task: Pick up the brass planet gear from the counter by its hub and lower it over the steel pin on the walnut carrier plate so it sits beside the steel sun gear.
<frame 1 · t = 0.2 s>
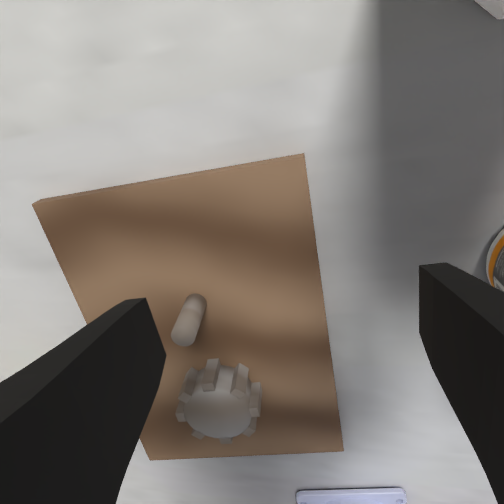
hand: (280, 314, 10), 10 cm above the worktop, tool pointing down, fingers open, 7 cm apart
carrier plate: (211, 335, 23), on the worktop
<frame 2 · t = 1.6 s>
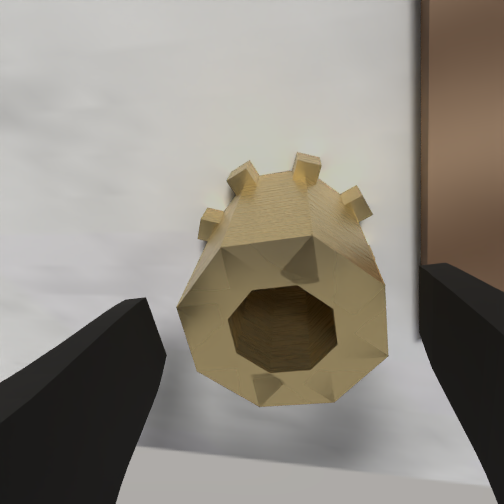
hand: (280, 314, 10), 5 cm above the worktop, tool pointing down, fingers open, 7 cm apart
planet gear: (286, 235, 15), on the worktop
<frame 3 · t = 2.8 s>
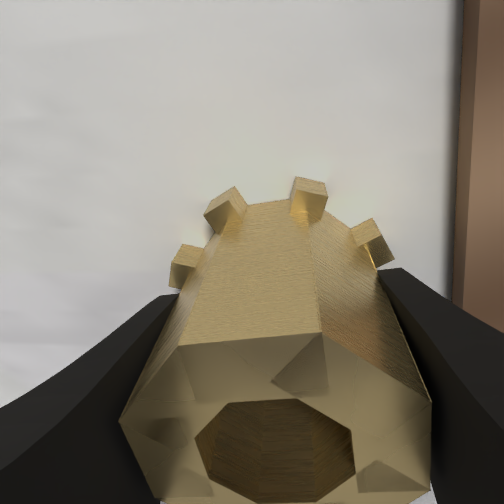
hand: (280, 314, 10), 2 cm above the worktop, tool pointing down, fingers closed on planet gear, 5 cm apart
planet gear: (281, 278, 12), on the worktop, touching gripper
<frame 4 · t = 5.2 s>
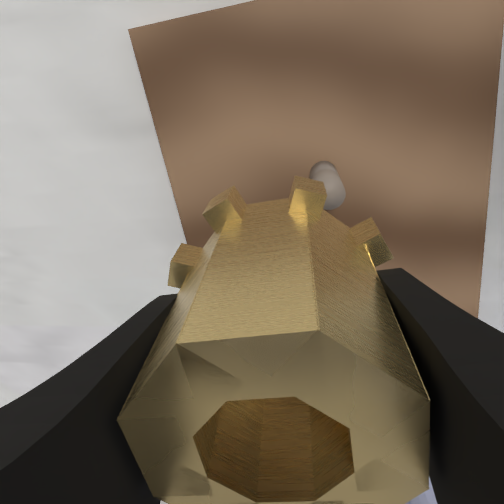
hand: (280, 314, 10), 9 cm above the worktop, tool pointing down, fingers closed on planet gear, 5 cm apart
carrier plate: (327, 228, 19), on the worktop
planet gear: (281, 277, 12), point 8 cm above the worktop, touching gripper
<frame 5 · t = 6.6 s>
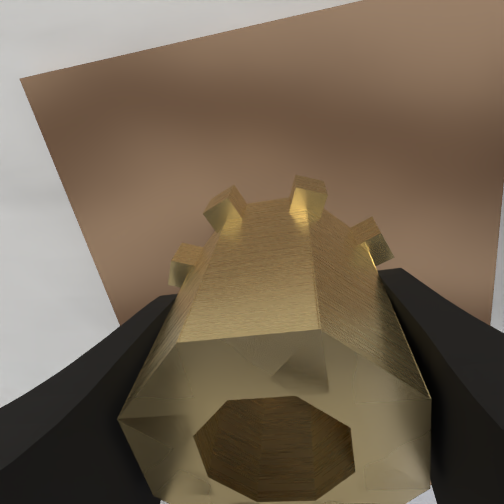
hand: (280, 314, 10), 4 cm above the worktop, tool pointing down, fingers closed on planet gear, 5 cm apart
carrier plate: (294, 311, 15), on the worktop
planet gear: (281, 276, 12), point 3 cm above the worktop, touching gripper
when the fingers open (4 cm above the worktop, at t = 7.7 s): planet gear stays where it is, resting on carrier plate.
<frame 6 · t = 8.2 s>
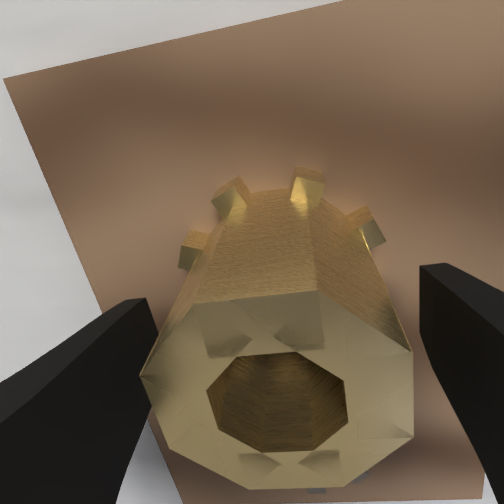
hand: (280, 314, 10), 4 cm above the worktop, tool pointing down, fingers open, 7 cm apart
carrier plate: (294, 321, 15), on the worktop
planet gear: (282, 261, 13), point 1 cm above the worktop, touching carrier plate
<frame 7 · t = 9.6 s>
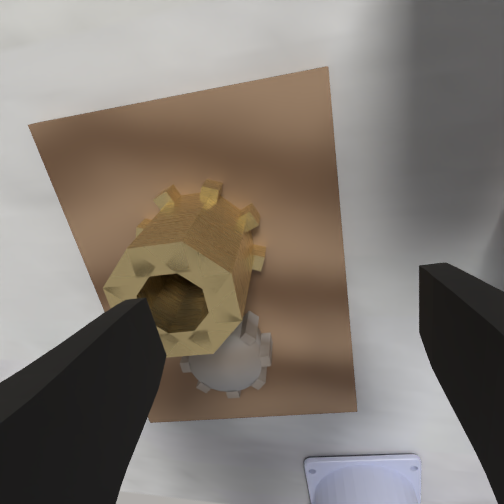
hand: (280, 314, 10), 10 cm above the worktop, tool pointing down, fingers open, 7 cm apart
carrier plate: (219, 282, 22), on the worktop
planet gear: (204, 239, 20), point 1 cm above the worktop, touching carrier plate
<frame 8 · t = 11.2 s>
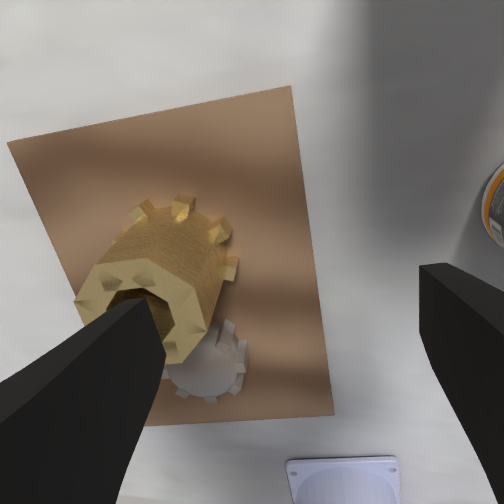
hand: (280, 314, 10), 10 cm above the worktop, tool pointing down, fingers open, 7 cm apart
carrier plate: (196, 290, 22), on the worktop
planet gear: (179, 250, 20), point 1 cm above the worktop, touching carrier plate
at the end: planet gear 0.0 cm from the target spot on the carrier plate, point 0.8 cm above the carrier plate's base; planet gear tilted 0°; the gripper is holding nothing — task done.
